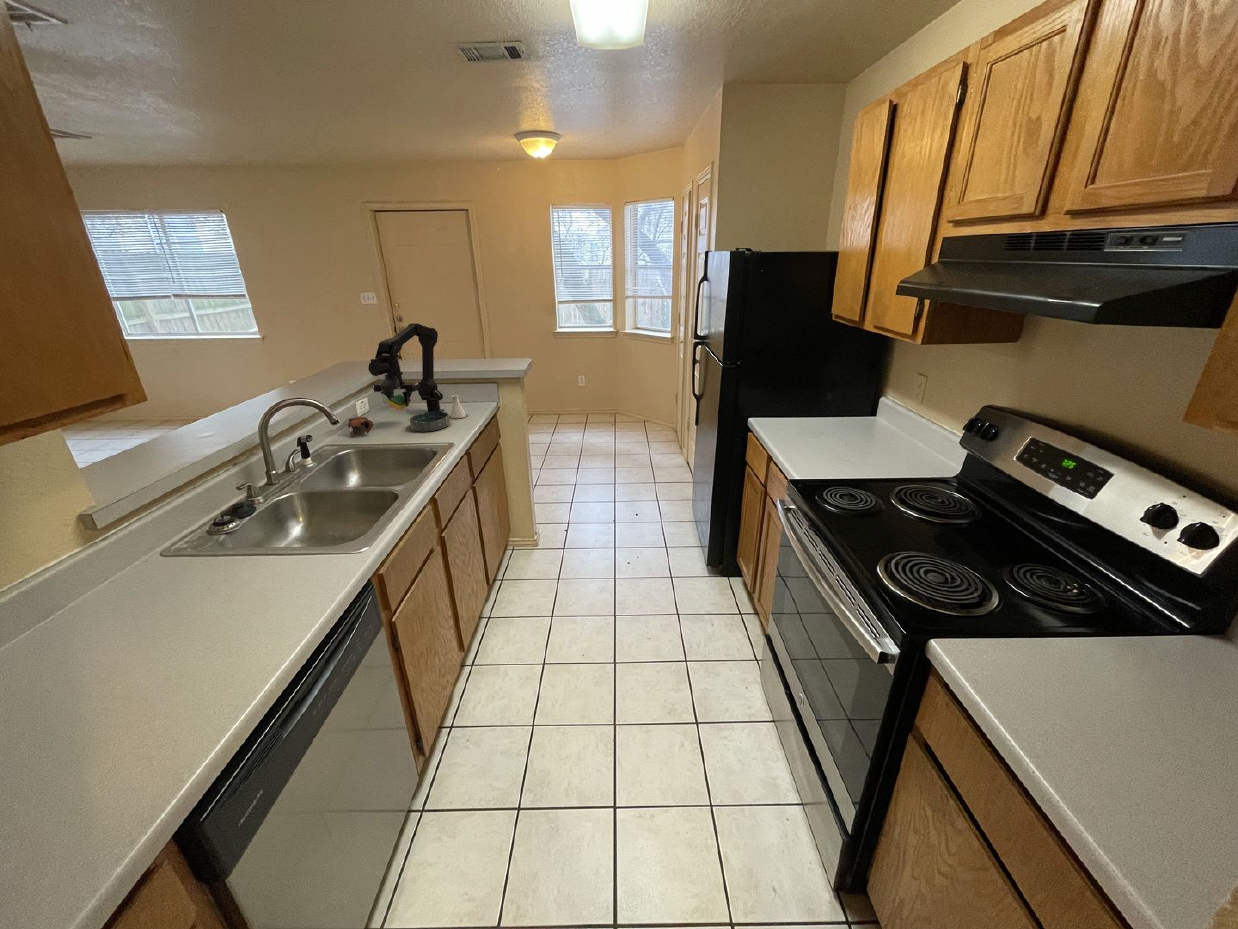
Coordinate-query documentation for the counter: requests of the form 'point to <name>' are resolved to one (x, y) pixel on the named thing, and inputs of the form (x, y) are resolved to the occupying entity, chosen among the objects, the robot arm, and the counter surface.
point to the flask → (457, 408)
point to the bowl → (430, 421)
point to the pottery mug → (360, 426)
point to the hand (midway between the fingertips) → (400, 406)
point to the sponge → (398, 402)
